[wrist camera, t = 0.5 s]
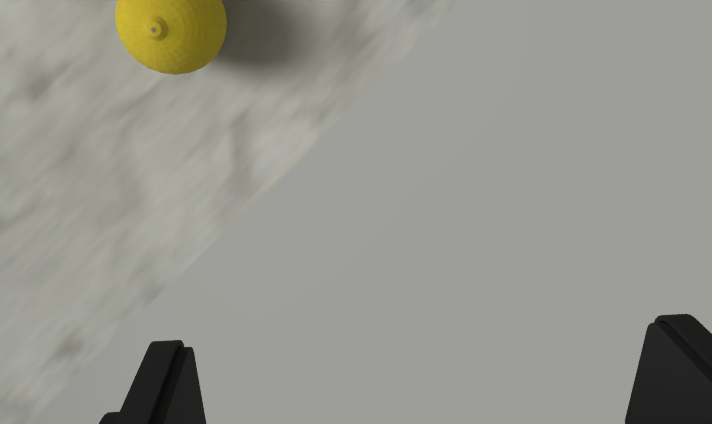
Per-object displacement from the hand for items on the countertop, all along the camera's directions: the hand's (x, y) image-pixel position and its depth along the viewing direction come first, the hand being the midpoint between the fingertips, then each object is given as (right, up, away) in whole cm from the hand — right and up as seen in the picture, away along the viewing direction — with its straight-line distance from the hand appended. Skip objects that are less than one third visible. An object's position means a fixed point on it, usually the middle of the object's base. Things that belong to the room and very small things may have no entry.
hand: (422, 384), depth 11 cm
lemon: (-11, +16, +22) cm, 30 cm away
